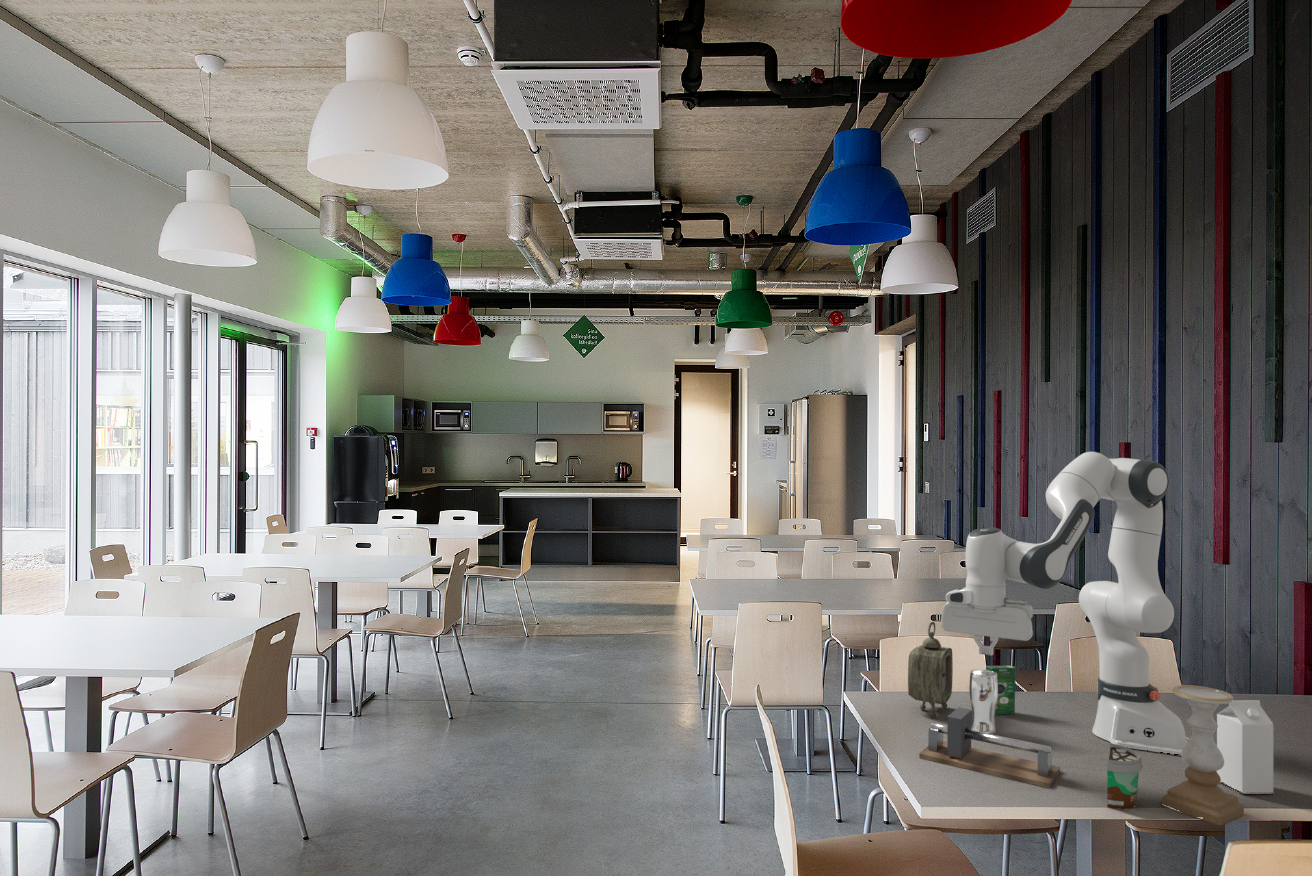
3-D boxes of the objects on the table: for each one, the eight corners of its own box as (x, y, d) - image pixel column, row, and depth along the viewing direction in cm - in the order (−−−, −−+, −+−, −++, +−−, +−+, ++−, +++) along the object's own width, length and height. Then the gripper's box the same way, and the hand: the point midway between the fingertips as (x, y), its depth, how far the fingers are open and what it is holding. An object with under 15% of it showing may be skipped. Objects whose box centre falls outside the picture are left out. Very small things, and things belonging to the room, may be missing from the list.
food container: (1142, 817, 159) (1142, 767, 159) (1106, 810, 162) (1107, 760, 163) (1143, 796, 170) (1143, 748, 170) (1109, 789, 173) (1110, 742, 173)
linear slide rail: (1051, 770, 180) (1052, 743, 180) (1047, 777, 176) (1047, 750, 176) (934, 744, 195) (934, 719, 196) (928, 750, 191) (928, 725, 192)
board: (1059, 771, 182) (1059, 766, 182) (1049, 788, 173) (1049, 783, 173) (934, 743, 199) (935, 739, 199) (919, 757, 189) (919, 753, 189)
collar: (971, 747, 192) (971, 709, 193) (960, 758, 185) (960, 719, 185) (958, 744, 194) (958, 707, 194) (947, 755, 187) (947, 716, 187)
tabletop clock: (940, 721, 216) (941, 628, 216) (906, 715, 221) (907, 624, 221) (952, 707, 228) (953, 619, 229) (919, 702, 233) (920, 615, 233)
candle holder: (1186, 794, 171) (1186, 681, 171) (1245, 814, 162) (1245, 695, 162) (1160, 805, 165) (1160, 688, 165) (1220, 827, 156) (1220, 703, 156)
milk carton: (1216, 782, 178) (1216, 695, 178) (1246, 781, 178) (1246, 695, 179) (1242, 795, 171) (1242, 705, 171) (1273, 795, 171) (1273, 705, 172)
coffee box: (1009, 711, 226) (1009, 664, 226) (1016, 714, 223) (1016, 666, 224) (984, 712, 224) (984, 665, 225) (990, 715, 222) (990, 668, 222)
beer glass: (1000, 736, 205) (1000, 677, 205) (971, 733, 207) (972, 675, 207) (994, 727, 212) (994, 670, 212) (966, 725, 213) (967, 668, 214)
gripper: (1035, 598, 188) (1036, 657, 188) (946, 590, 200) (946, 645, 200) (1030, 602, 183) (1030, 663, 183) (938, 594, 195) (939, 651, 195)
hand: (986, 654), depth 191 cm, fingers closed
